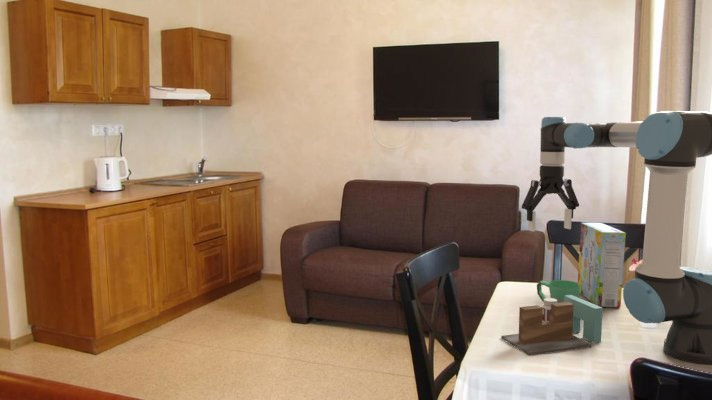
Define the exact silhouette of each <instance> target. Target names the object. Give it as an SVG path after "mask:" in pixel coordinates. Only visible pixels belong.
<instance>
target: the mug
mask: <svg viewBox="0 0 712 400" xmlns="http://www.w3.org/2000/svg"><path fill="white" fill-rule="evenodd" d="M542 286H545V287H547V288H548V290H549V295H550V298H554V299H557V303H562V302H564V296H565V295H573V296H575V297H578V298H579V294H580V293H579V292H580V287H581V285H580V284H579V286H578V282H577V281H571V280H565V279H564V280H563V279H562V280H561V279H559V280H558V279H557V280H551V281H546V280H540V281H539V282H537V284H536V291H537V292H536V293H537V296H538V297H539V298H540V299H541V301H542V302H543V301H544V299H545V298H547V297H546V296H545V295H544V292H543V290H542Z"/></svg>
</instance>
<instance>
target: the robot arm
mask: <svg viewBox="0 0 712 400" xmlns="http://www.w3.org/2000/svg"><path fill="white" fill-rule="evenodd" d="M540 125H541V127H540V153H539V154H540V155H539V157H540V158H539V159H540V160H539V163H540V164H541V165H540V166H539V178H540V179H539V180H535V179H532V180H531V182H530V187H529V189H528V191H527V193H526V196H525V198H524V200H523V203H522V205H521V209H523V210H525V211H526V221H528V226H527V227H528V231H530V232H533V233H534V232H536V220H537V217H536V216H537V215H536V212H537V211H535V209H536V207H537V206H538V205H539V204H540V203H541V201H542V200H543V198H544V197H545V196H546V195H547V194H548V195H552V194H555V195H558V196H559V198H560V200H561V201H562V203H563V204H564V205H565V207H566V208H564V221H563V228H564V229H566V230H571V229H572V219H573V218H574V210H576V209H577V208H579V206H580V203H579V200H578V198H577V195H576V193H575V191H574V188H573V185H572V184H573V183H572V179H571V178H570V179H568V178H564V179H563V177H564V176H565V166H564V165H565V160H566V159H565V157H566V156H565V153H566V152H565V151H566V150H565V149H566V148H570V149H571V148H572V149H585V148H636V149H637V150H638V151H637V152H638V153H639V155H640V156H641V157H642V158H644V162H643V165H644V166H645V167H646V168H647V169H648V170H649V181H648V190H647V191H648V192H647V203H646V213H645V215H646V216H645V225H644V226H645V227H644V237H643V238H644V239H643V248H642V260H641V263H640V264H638V265H636V267H635V268H634V278H630V279H629V280H628V281H627V282H625V284H624V286H623V288H622V294H623V295H622V297H623V302H624V305H625V308H626V309H627V310H628V312H629V314H630V315H631V316H632V317H633V318H634V320H637V321H638V322H641V323H643V324H661V323H666V322H671V325H670V327H669V329H668V331H667V335H666V337H665V338H664V340H663V351H664V352H665V353H666V354H668V355H669V356H671V357H673V358H675V359H678V360H681V361H685V362H689V363H695V364H703V365H705V364H707V365H712V270H707V269H703V268H699V267H697V268H696V267H690V266H680V257H681V250H682V249H681V248H682V237H683V227H684V217H685V208H686V197H687V196H686V195H687V186H688V178H689V176H688V175H689V173H690V172H691V171H693V170H694V169H695V168H696V166H697V165H696V164H697V158H705V157H709V156H712V112H710V111H709V112H708V111H703V110H701V111H700V110H698V111H692V110H691V111H689V110H688V111H685V110H684V111H683V110H682V111H681V110H679V111H678V110H664V111H658V112H653V113H651V114H649V115H648V116H646V118H645V119H644V120H642V121H625V122H571V123H570V122H567V119H566V117H564V116H544V117H543V118H542V119H541V123H540ZM563 186H564V189H565V190H564V189H563ZM565 191H566V193H565Z"/></svg>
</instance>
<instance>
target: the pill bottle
mask: <svg viewBox="0 0 712 400" xmlns="http://www.w3.org/2000/svg"><path fill="white" fill-rule="evenodd" d="M542 302H543V304H542V305H541V307H542V322H544V321H550V317H551V304H553V303H557V299H554V298H551V297H546V298H545V299H544V301H542Z"/></svg>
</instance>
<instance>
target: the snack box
mask: <svg viewBox="0 0 712 400" xmlns="http://www.w3.org/2000/svg"><path fill="white" fill-rule="evenodd" d="M626 236H627V232H624V231H622V230H620V229H617V228H614V227H613V226H610V225H607V224H606V223H602V222H580V237H579V251H578V253H579V255H578V270H577V271H578V273H577V284H578V286H579V284H580V285H581V287H580V292H579V294H580V295H582V296H583V297H584V298H586V299H587V300H589V301H590V303H592V304H595V305H597V306H599V307H602V308H621V306H622V293H623V287H622V286H623V278H624V277H623V276H624V264H625V263H624V262H625V249H626V238H627V237H626Z"/></svg>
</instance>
